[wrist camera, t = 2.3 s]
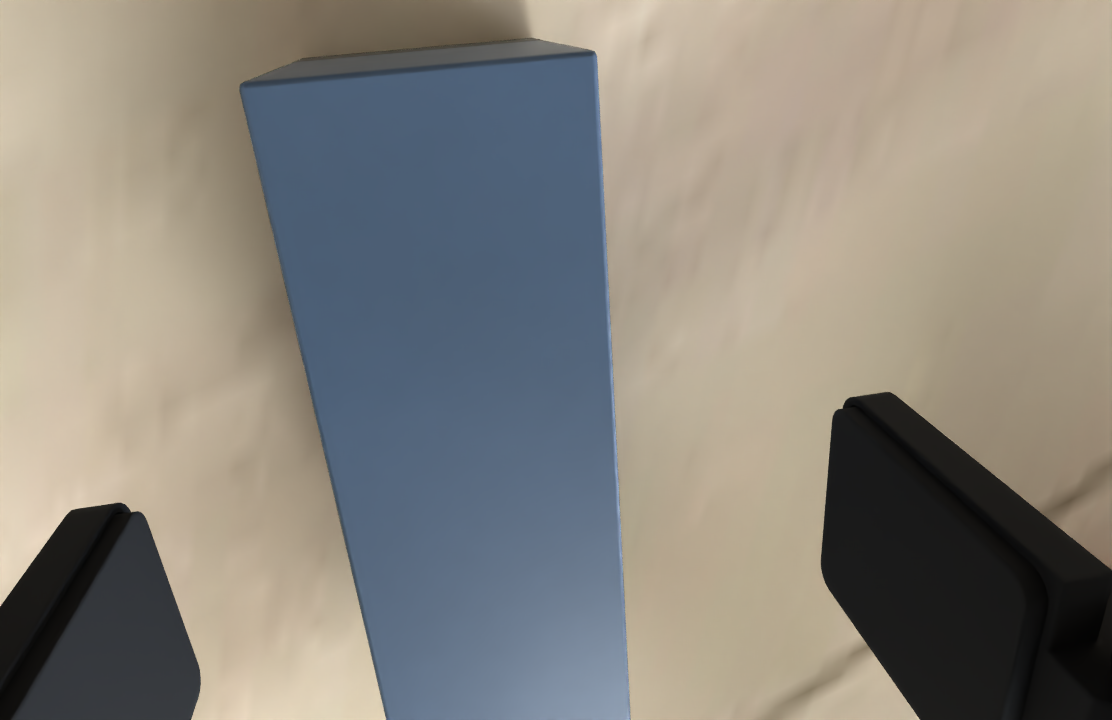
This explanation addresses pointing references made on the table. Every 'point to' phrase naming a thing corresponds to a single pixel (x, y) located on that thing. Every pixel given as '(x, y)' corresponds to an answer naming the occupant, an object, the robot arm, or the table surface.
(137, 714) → the robot arm
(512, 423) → the blue rectangular block
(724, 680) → the table surface
